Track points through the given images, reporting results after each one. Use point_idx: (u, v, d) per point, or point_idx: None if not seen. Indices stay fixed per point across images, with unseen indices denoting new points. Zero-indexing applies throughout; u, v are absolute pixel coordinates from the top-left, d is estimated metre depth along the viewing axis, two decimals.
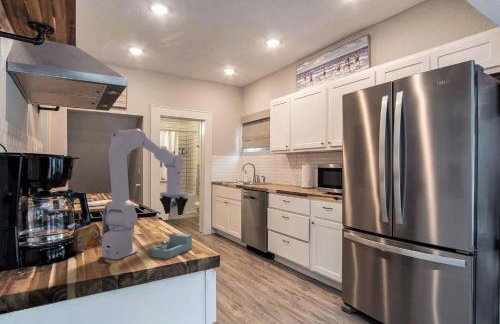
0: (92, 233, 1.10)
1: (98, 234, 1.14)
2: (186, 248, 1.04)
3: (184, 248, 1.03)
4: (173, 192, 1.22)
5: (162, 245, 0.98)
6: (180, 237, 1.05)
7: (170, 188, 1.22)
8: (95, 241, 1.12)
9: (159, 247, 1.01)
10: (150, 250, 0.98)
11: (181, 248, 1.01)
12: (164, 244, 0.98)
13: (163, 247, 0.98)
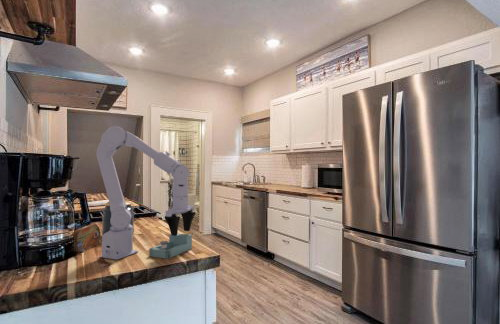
0: (92, 233, 1.10)
1: (98, 234, 1.14)
2: (186, 248, 1.04)
3: (184, 248, 1.03)
4: None
5: (162, 245, 0.98)
6: (180, 237, 1.05)
7: None
8: (95, 241, 1.12)
9: (159, 247, 1.01)
10: (150, 250, 0.98)
11: (181, 248, 1.01)
12: (164, 244, 0.98)
13: (163, 247, 0.98)
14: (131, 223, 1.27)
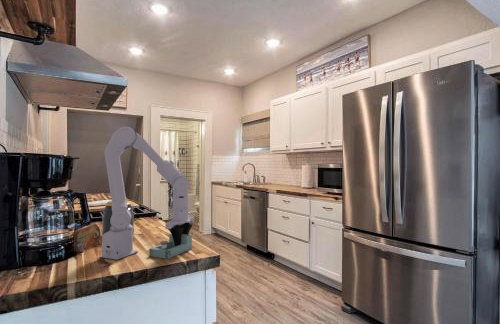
0: (92, 233, 1.10)
1: (98, 234, 1.14)
2: (186, 248, 1.04)
3: (184, 248, 1.03)
4: None
5: (162, 245, 0.98)
6: None
7: None
8: (95, 241, 1.12)
9: (159, 247, 1.01)
10: (150, 250, 0.98)
11: (181, 248, 1.01)
12: (164, 244, 0.98)
13: (163, 247, 0.98)
14: (131, 223, 1.27)
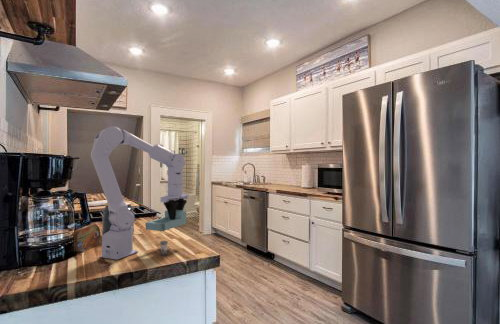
0: (92, 233, 1.10)
1: (98, 234, 1.14)
2: (180, 222, 1.10)
3: (178, 223, 1.09)
4: None
5: (162, 245, 0.98)
6: None
7: None
8: (95, 241, 1.12)
9: (155, 221, 1.07)
10: (146, 224, 1.04)
11: (176, 222, 1.07)
12: (164, 244, 0.98)
13: (163, 247, 0.98)
14: None
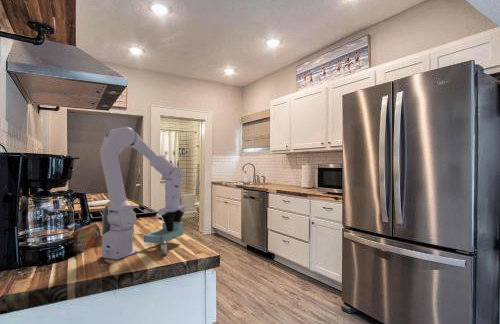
0: (92, 233, 1.10)
1: (98, 234, 1.14)
2: (178, 234, 1.13)
3: (176, 235, 1.12)
4: (165, 206, 1.15)
5: (162, 245, 0.98)
6: None
7: None
8: (95, 241, 1.12)
9: (153, 234, 1.10)
10: (144, 236, 1.07)
11: (173, 234, 1.10)
12: (164, 244, 0.98)
13: (163, 247, 0.98)
14: None
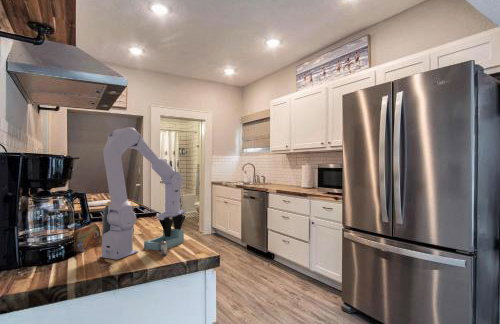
0: (92, 233, 1.10)
1: (98, 234, 1.14)
2: (178, 242, 1.13)
3: (176, 242, 1.12)
4: (165, 211, 1.15)
5: (162, 245, 0.98)
6: (173, 232, 1.14)
7: None
8: (95, 241, 1.12)
9: (153, 241, 1.10)
10: (145, 243, 1.07)
11: (173, 241, 1.10)
12: (164, 244, 0.98)
13: (163, 247, 0.98)
14: None
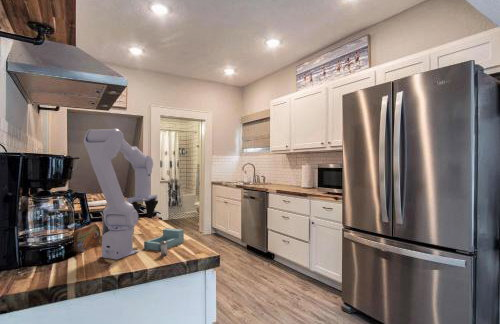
0: (92, 233, 1.10)
1: (98, 234, 1.14)
2: (178, 242, 1.13)
3: (176, 242, 1.12)
4: (135, 195, 1.14)
5: (162, 245, 0.98)
6: (173, 232, 1.14)
7: None
8: (95, 241, 1.12)
9: (153, 241, 1.10)
10: (145, 243, 1.07)
11: (173, 241, 1.10)
12: (164, 244, 0.98)
13: (163, 247, 0.98)
14: None
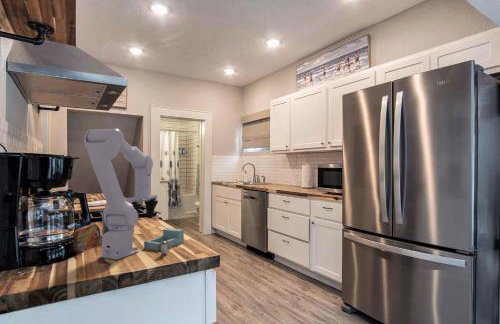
0: (92, 233, 1.10)
1: (98, 234, 1.14)
2: (178, 242, 1.13)
3: (176, 242, 1.12)
4: (135, 195, 1.14)
5: (162, 245, 0.98)
6: (173, 232, 1.14)
7: None
8: (95, 241, 1.12)
9: (153, 241, 1.10)
10: (145, 243, 1.07)
11: (173, 241, 1.10)
12: (164, 244, 0.98)
13: (163, 247, 0.98)
14: None
